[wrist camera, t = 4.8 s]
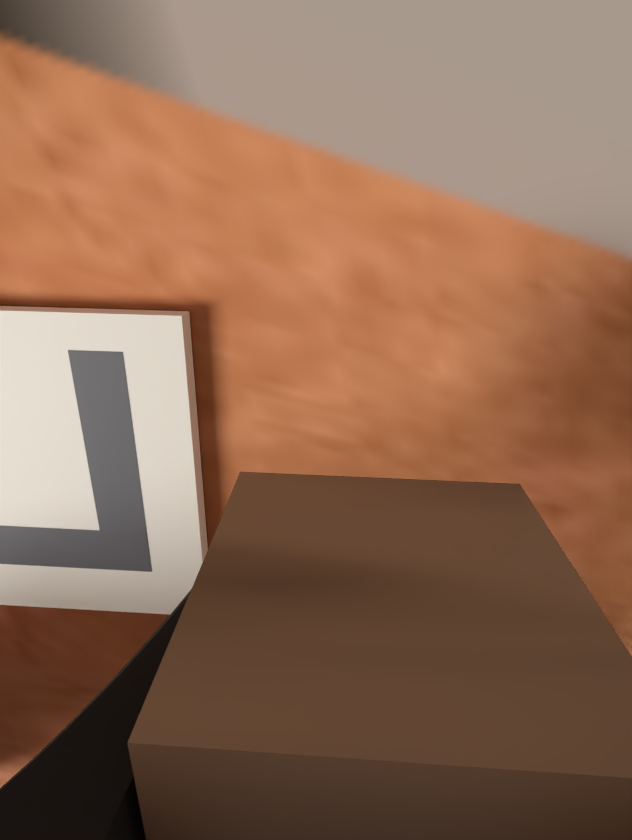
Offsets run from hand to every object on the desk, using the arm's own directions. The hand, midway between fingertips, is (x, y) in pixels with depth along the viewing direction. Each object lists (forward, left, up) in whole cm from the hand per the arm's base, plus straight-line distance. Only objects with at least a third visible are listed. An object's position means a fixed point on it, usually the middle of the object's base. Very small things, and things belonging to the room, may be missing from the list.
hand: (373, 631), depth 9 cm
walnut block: (0, 0, -1) cm, 1 cm away
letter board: (-2, +12, -9) cm, 15 cm away
